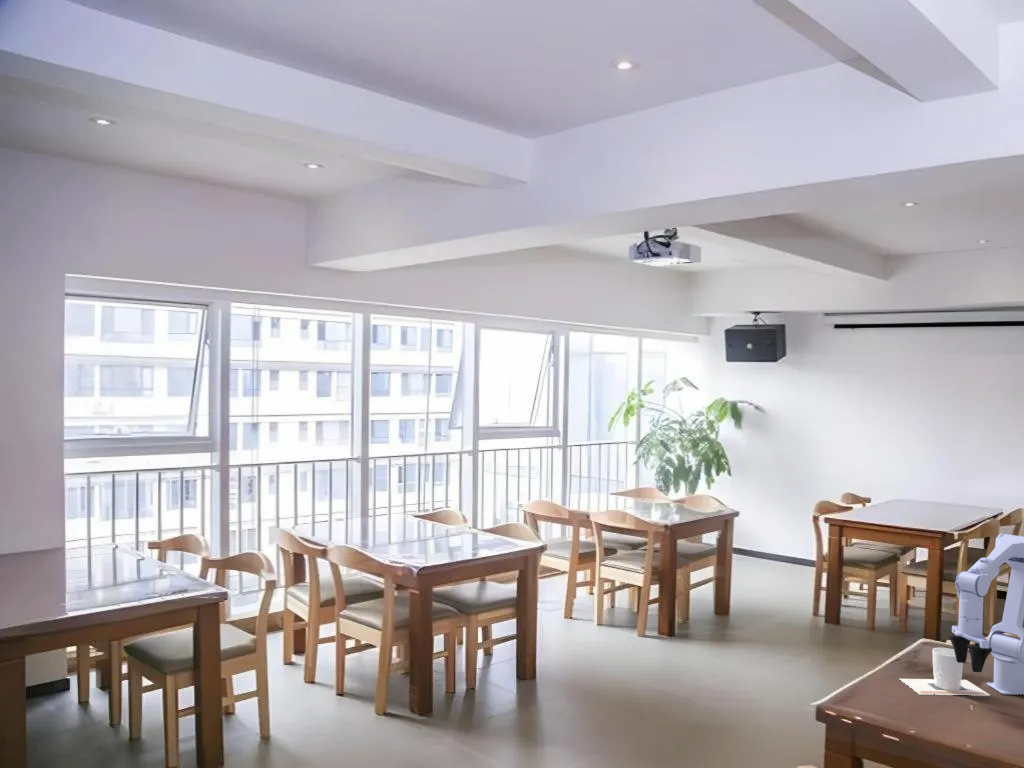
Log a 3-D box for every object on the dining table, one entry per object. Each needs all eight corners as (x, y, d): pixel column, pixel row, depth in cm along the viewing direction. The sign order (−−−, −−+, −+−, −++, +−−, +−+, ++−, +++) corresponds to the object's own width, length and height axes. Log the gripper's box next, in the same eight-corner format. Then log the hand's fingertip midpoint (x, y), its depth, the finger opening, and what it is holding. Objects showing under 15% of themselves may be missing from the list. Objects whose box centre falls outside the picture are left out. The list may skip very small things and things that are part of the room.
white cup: (968, 692, 227) (969, 656, 227) (940, 691, 228) (941, 656, 228) (953, 682, 235) (954, 647, 235) (926, 681, 235) (927, 647, 235)
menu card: (966, 680, 237) (966, 679, 237) (990, 696, 225) (990, 695, 225) (898, 679, 237) (898, 678, 237) (919, 694, 225) (919, 694, 225)
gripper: (941, 609, 227) (940, 657, 227) (971, 623, 213) (969, 675, 212) (966, 610, 227) (965, 658, 227) (997, 624, 213) (996, 676, 212)
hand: (968, 667), depth 220 cm, fingers open, 7 cm apart
